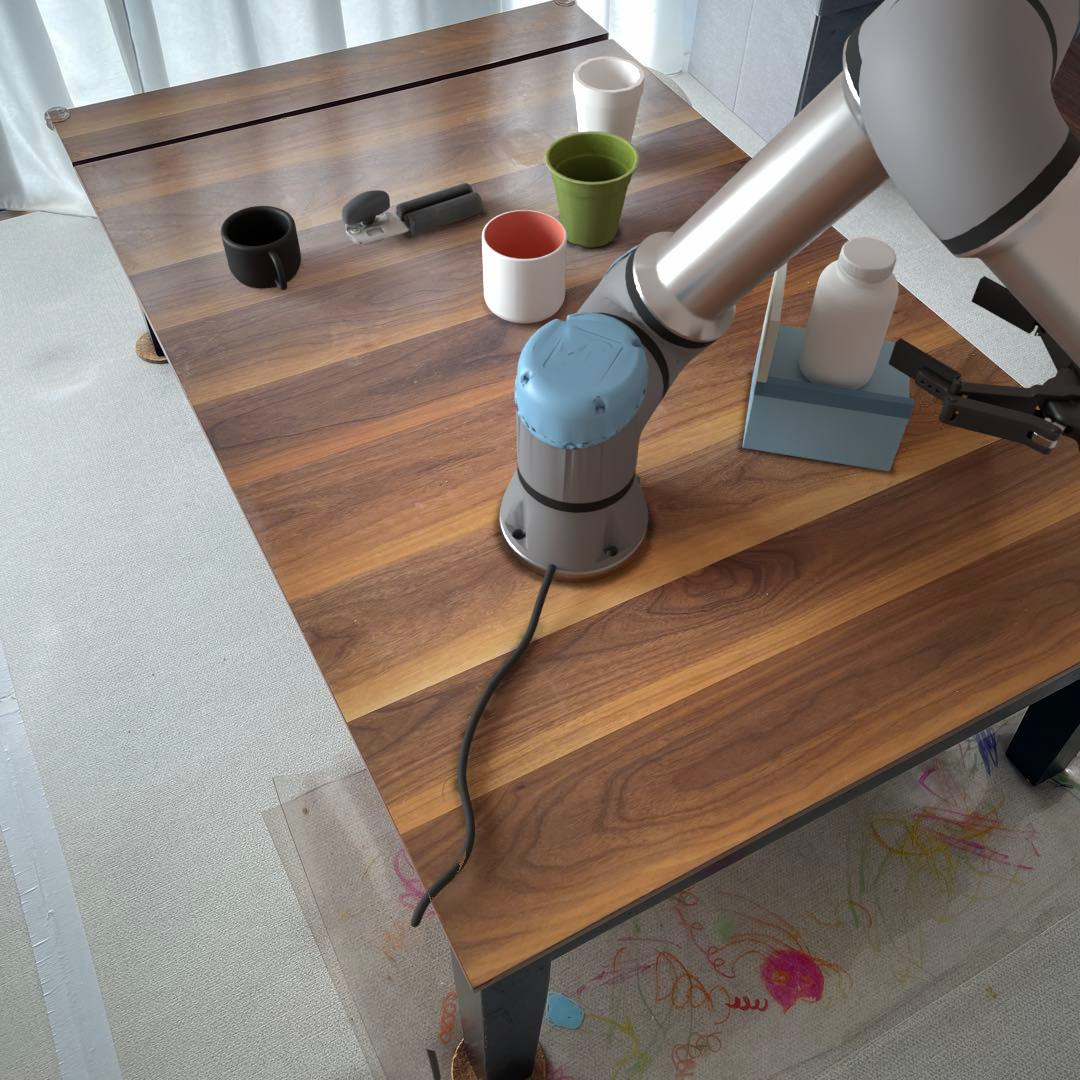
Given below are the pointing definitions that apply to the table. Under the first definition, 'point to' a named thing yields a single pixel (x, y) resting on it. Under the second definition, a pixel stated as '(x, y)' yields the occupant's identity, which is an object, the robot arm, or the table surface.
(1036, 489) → the table surface
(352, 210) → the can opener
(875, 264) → the pill bottle
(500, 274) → the cup
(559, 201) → the plant pot
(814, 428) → the bookend
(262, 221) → the mug
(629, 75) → the foam cup
